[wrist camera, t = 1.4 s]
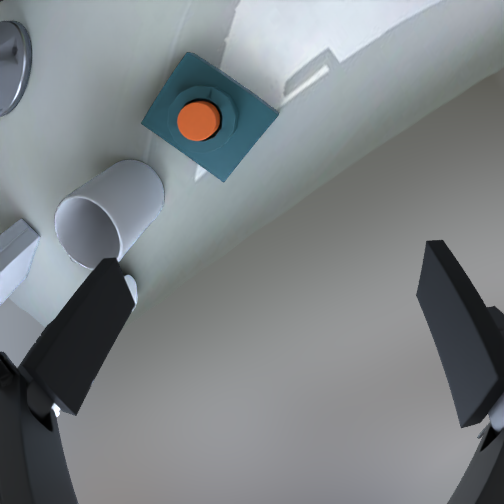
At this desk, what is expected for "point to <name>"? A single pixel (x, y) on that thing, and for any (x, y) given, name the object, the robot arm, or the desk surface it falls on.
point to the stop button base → (228, 105)
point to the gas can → (16, 256)
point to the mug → (109, 212)
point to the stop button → (198, 120)
